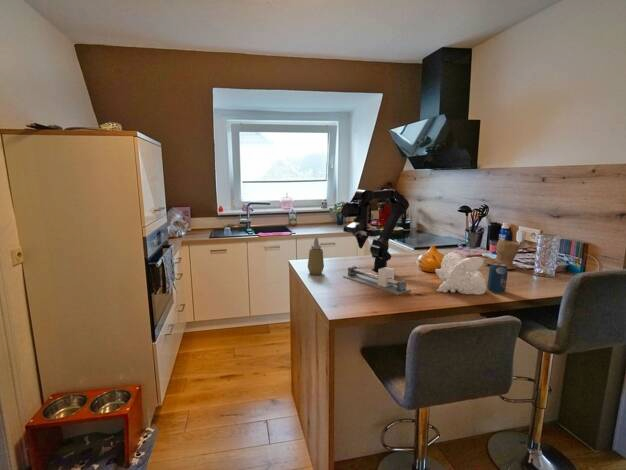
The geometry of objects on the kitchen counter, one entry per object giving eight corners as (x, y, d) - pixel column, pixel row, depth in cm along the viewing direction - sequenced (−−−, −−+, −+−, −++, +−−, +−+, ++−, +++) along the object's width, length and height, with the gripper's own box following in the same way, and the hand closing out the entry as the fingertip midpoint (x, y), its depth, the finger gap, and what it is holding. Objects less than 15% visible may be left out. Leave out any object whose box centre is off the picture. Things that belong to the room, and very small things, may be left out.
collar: (377, 284, 153) (378, 269, 152) (386, 282, 157) (386, 266, 156) (384, 287, 150) (385, 271, 149) (393, 284, 154) (394, 268, 153)
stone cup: (521, 269, 186) (525, 241, 183) (507, 271, 181) (510, 243, 178) (495, 262, 199) (498, 236, 197) (481, 264, 194) (484, 238, 191)
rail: (347, 276, 168) (348, 267, 167) (354, 274, 170) (354, 265, 170) (399, 293, 146) (400, 282, 145) (405, 291, 148) (406, 280, 148)
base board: (343, 277, 167) (343, 275, 166) (356, 273, 172) (356, 272, 172) (397, 294, 144) (397, 293, 144) (410, 290, 149) (410, 288, 149)
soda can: (504, 295, 146) (507, 267, 144) (486, 291, 149) (489, 264, 147) (505, 290, 152) (509, 263, 149) (487, 287, 155) (490, 261, 153)
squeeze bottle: (322, 276, 167) (323, 239, 164) (305, 275, 169) (306, 238, 165) (325, 271, 175) (326, 236, 172) (309, 270, 176) (309, 235, 173)
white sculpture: (506, 274, 143) (471, 250, 138) (480, 316, 143) (444, 293, 138) (475, 265, 161) (444, 243, 156) (453, 302, 161) (420, 281, 156)
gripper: (336, 215, 168) (335, 247, 171) (366, 219, 155) (365, 254, 158) (351, 213, 176) (350, 244, 179) (381, 217, 163) (380, 250, 165)
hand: (360, 248), depth 170 cm, fingers closed
